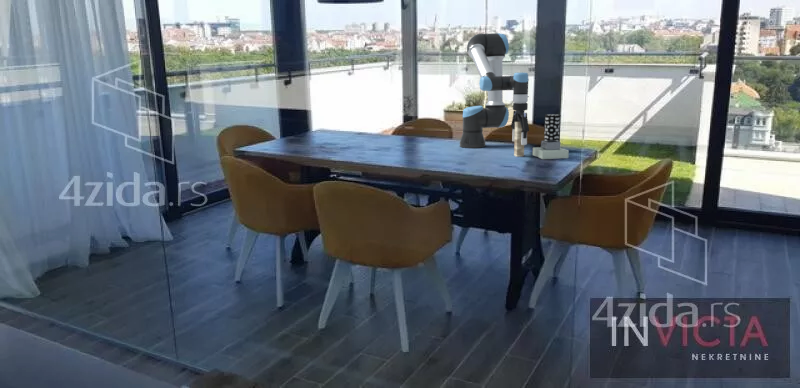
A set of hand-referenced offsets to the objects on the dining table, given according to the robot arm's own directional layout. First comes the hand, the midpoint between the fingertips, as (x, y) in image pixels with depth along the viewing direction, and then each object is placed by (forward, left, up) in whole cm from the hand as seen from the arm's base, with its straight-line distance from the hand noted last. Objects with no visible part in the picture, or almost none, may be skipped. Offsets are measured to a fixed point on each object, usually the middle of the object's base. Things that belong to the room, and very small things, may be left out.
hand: (519, 142), depth 330 cm
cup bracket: (+15, -6, -3) cm, 16 cm away
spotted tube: (+23, +11, -7) cm, 27 cm away
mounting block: (+15, -6, -7) cm, 18 cm away
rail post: (0, 0, -7) cm, 7 cm away
